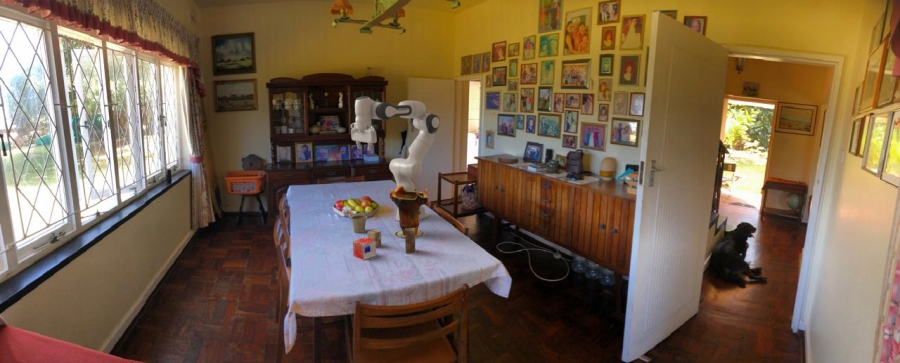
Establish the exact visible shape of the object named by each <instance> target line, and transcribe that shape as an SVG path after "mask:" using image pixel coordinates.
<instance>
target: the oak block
mask: <svg viewBox="0 0 900 363" xmlns="http://www.w3.org/2000/svg"><path fill="white" fill-rule="evenodd" d="M367 238H369V239H372V240H375V242H376V248H378V247H381V246H382V231H381V230H378V229H371V230H370V231H367Z"/></svg>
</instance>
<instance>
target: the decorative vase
mask: <svg viewBox="0 0 900 363" xmlns="http://www.w3.org/2000/svg"><path fill="white" fill-rule="evenodd" d="M389 199H391V201H392V202H393V203H394V204H395V205H396V207H398V209H399V219H400V221H399V223H398V224H399V226H400V227H399V228H400V230H396V231H395V232H393V236H394V237H396V238H399V239H403V238H404V239H405V228H415V239H417V238H421V237H423V236H424V235H425V234H426V232H425V231H423V230H422V229H419V228H420V220H419V210H420V206H421V205H422V206H423V205H427V204H428V199H429V196H428V189H427V188H425V189H424V191H423V192H422V191H418V190H415V191H407V190H405V189H404V187H403V185H400V186H398V187H397V186H396V188H395V190H394V188H391V189H390V192H389Z"/></svg>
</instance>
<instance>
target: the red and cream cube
mask: <svg viewBox="0 0 900 363" xmlns="http://www.w3.org/2000/svg"><path fill="white" fill-rule="evenodd" d="M376 248H377V247H376V242H375V240H372V239H369V238H368V237H365V236H364V237H362V238H358V239H355V240H353V241H352V253H353V254H352V255H353V257H354V258H358V259H360V260H363V261H365V260H367V259H369V258H372V257H375V256H377V253H376V252H377V250H376Z"/></svg>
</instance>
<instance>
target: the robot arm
mask: <svg viewBox="0 0 900 363" xmlns="http://www.w3.org/2000/svg"><path fill="white" fill-rule="evenodd" d="M354 109H355V110H354V112H355V113H354V114H355V122H353V123H351V124H350V135H351V140H352V141H354V142H355V144H356V145H357V149H358V150H361V149H362V144H361V142H362V143H367V147H366V150H367V151H369V152H370V151H372V146H373V144H376V143H377V141H378V140H377V131H376V129H375V128H374V126H372V119H373V120H381V121H389V120H392V119H394V118H397V117H400V118H402V119H409V123H410V126H411V128H412V129H415V130H419V132H418V134H417V136H416V137H415V138H414V140H413V142H412V143H411V145H410V146H409V147H408V154H409V155H408V157H407V158H402V157H399V158H398V157H397V158H392V159H391V161H390V163H389V166H388V167H389V168H388V169H389V170H390V172H391V173H392V174H393V177H394V180H395V182H396V188H397V187H398V186H400V185H403V187H404V189H405V190H407V191H416V190H415V189H416V188H415V184H414V182H413V181H412V179H416V178H419V177H420V176H422V174H423V169H424V168H423V164H422V163H423V160H424V158H425V156H426V155H427V153H428V151H429V149H431V146H432V145H433V143H434V140H435V137H436V136H435V133H437V131H438V129H439V127H440V125H441V119H440V117H439V116H438V115H437V114H435V113H427V112H426V110H427V108H426V105H425V103H423V102H422V101H418V100H404V101H400V102H399V103H398V104H396V105H394V104H392V103H390V102H384V101H383V102H376V101H375V100H373V99H372V98H370V97H369V96H368V95H367V96H366V95H364V96H360V97H357V98H356V99H355V103H354ZM396 207H397V206H396ZM428 217H429V214H428V213H426V209H425V206H423V205H421V206H420V210H419V221H421V220H424V219H425V218H426V219H427V218H428ZM394 218H395V219H394V220H396V221H398V222H400V219H399V209H398V207H397V208H396V215H395V217H394Z"/></svg>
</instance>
